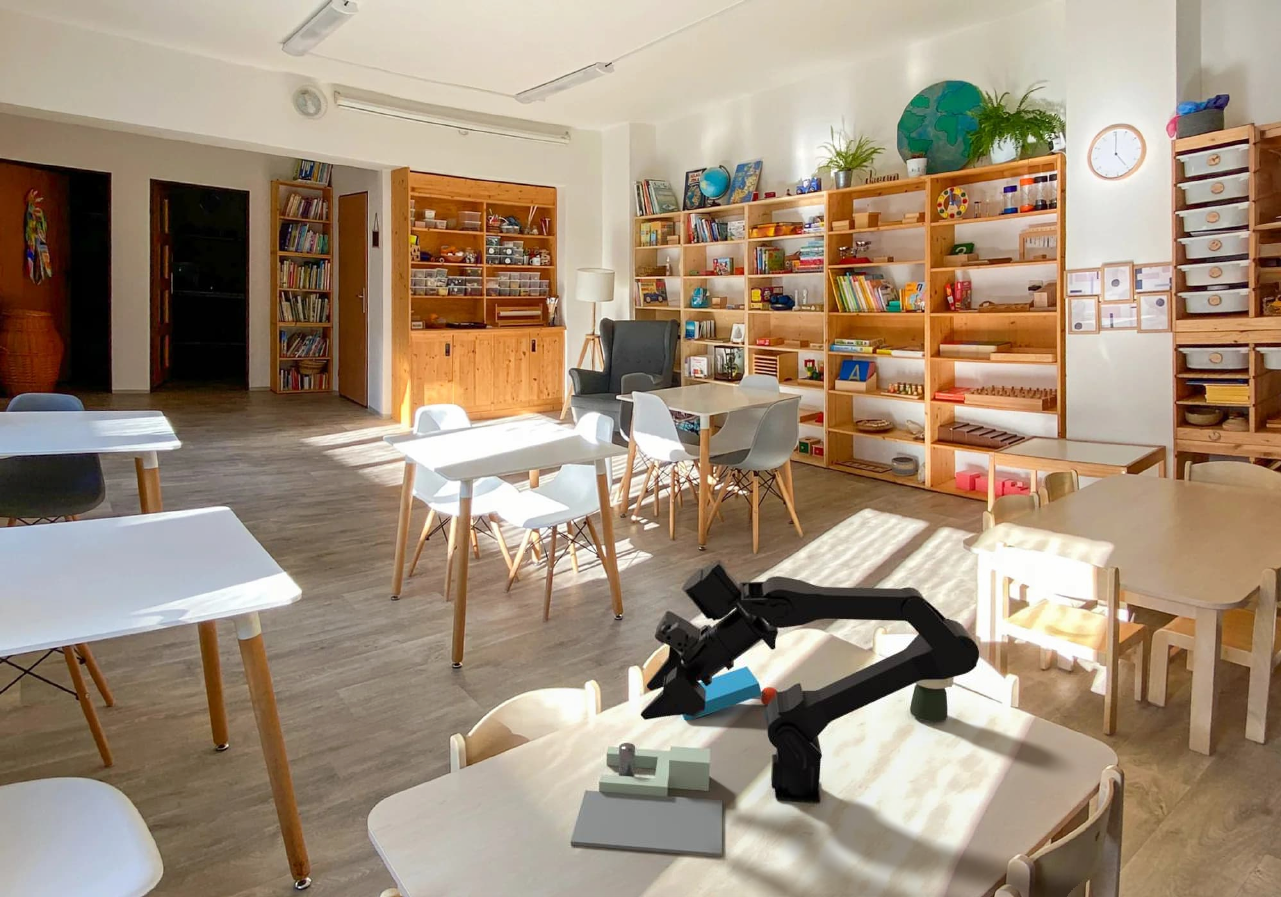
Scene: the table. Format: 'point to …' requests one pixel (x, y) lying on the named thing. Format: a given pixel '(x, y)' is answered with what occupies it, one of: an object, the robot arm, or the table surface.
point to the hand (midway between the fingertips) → (645, 701)
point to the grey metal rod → (627, 760)
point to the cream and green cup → (930, 699)
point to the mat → (649, 823)
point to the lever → (733, 691)
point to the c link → (661, 771)
